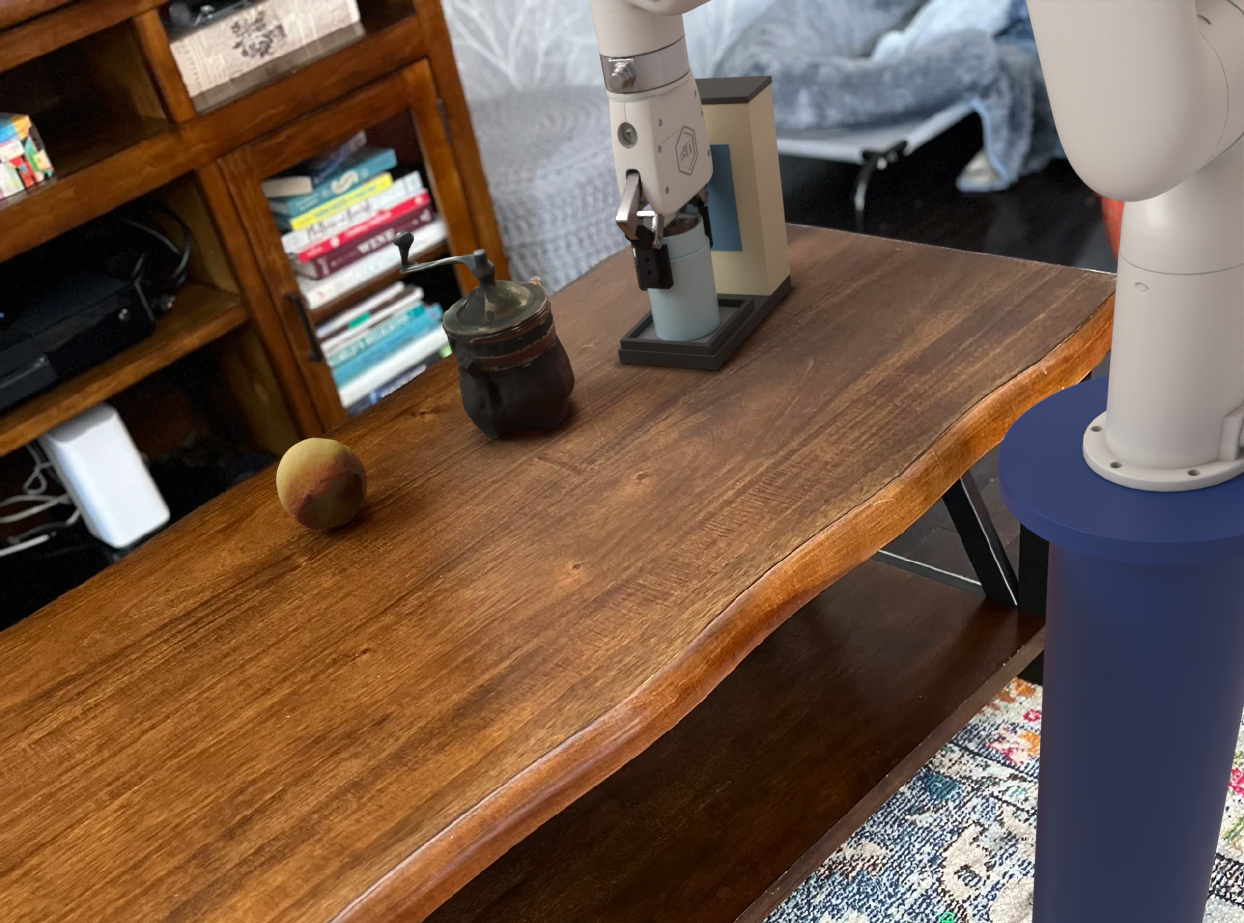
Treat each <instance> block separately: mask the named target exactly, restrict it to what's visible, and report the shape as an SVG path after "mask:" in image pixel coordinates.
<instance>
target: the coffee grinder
mask: <svg viewBox="0 0 1244 923" xmlns="http://www.w3.org/2000/svg"><path fill="white" fill-rule="evenodd" d="M414 241H415V235H414V234H413V233H412V232H411V231H409V230H407V229H402V230H401V229H400V231H399V232H397V233H396V235H395V238H394V240H393V242H392V243H393V245H394V246H395V247H397V249H398V252H399V255H400V262H401V267H400V269H399V273H400V274H401V275H406V274H407V275H408V274H409V273H414V272H421V271H426V270H429V269H433V268H436V267H440V266H446V265H465V266H467V267H468V269H469V270H470V271H471V273H472V275H473V276H474V277H475V278H476V279H477V281H478V282H479V285H478V286H475V288H473V289H472V290H470V292H468V294H467V295H465V296H464V297H462V298H460V299H459V300H457V301H456V302H455V303H454V304H452V305H451V307H450V308H449V309H448V310H446V311H444V314H443V316H442V324H441V325H442V330H443V331H444V334H445V335H446V337H447V342H448V345H449V348H450V351H451V352H452V354H453V355H454V357H455V363H456V365H457V372H459V382H458V383H459V389H460V390H459V391H460V395H461V402H462V405H463V410H464V411H465V413H466V414H467V416H468V418H469V419H471V422H472V424H473V425H475V426H476V427H477V428H478V429H479V430H480V431H481V432H483V434H484V435H485V436H486V437H488V438H489V439H498V436H499V435H502V434H503V433H505V432H511V431H516V430H517V431H533V432H542V431H545V430H546V431H549V430H550V429H551V430H552V429H555V428H558V427H559V426H560V424H561V423H562V422H563V421H564V420H565V418H566V417H567V416H568V408H569V406H568V405H567V399H568V397H569V396H570V395H571V394H572V393H573V391H574V389H575V382H576V381H575V374H574V371H573V368H572V365H571V361H570V357H569V355H568V353H567V351H566V349H565V346H564V345H563V344H562V342H561V340H560V338H559V336H558V334H557V331H556V325H555V324H556V323H555V318H554V315H553V313H552V304H551V301H550V300H549V295H548V293H547V290H546V289H545V288H544V284H543V281H542V279H541V278H540V276H537V275H534V276H532V277H531V278H530V279H529V280H527V281H525V282H524V281H519V280H515V281H509V280H505V279H501V280H500V279H499V280H497V279H495V276H496V271H497V270H496V269H497V268H496V266H495V263H494V262H492V261H491V260H490V259H489V258H488V252H487V250H486V249H484V248H482V249H481V248H480V249H477V250H474V251H473V253H472V254H464V255H461V256H452V257H451V256H450V257H445V258H441V259H439V260H438V259H437V260H434V261H429V262H427V261H426V262H422V263H419V262H418V261H416V260H413V261H409V260H408V259H409V254H410V249H411V247H412V245H413V244H414Z"/></svg>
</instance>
